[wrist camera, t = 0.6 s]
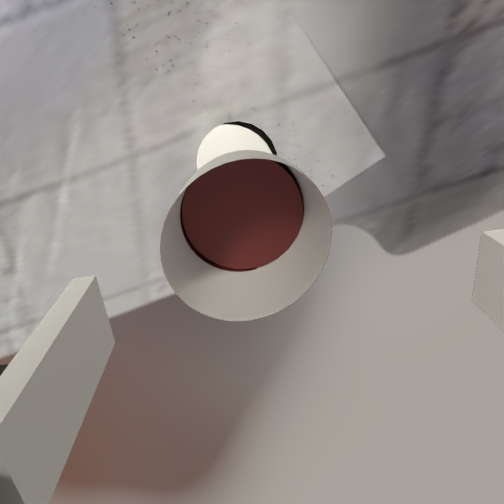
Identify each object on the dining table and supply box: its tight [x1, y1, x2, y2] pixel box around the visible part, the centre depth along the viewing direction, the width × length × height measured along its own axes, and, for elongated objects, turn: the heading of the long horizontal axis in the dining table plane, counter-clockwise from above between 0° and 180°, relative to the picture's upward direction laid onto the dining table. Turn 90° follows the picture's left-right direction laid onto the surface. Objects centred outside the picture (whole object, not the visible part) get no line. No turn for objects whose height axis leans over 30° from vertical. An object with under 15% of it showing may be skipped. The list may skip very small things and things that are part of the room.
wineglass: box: [160, 121, 332, 321], centre depth 32 cm, size 9×10×22 cm
